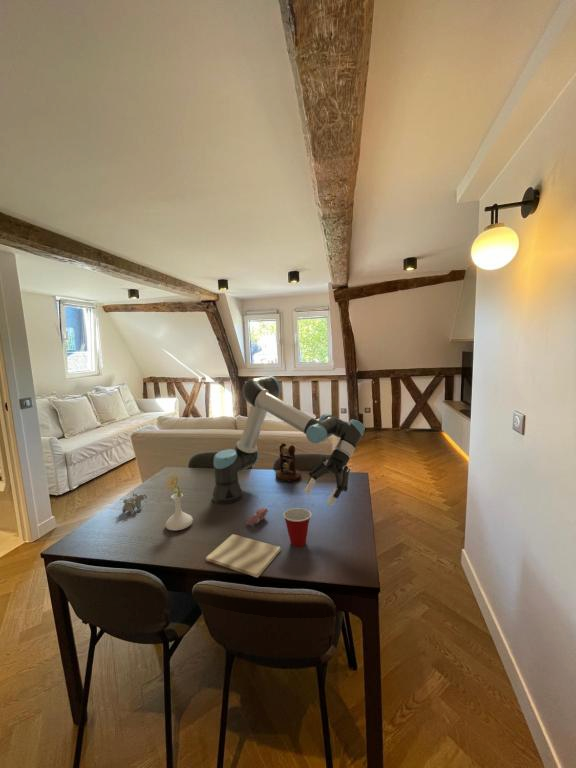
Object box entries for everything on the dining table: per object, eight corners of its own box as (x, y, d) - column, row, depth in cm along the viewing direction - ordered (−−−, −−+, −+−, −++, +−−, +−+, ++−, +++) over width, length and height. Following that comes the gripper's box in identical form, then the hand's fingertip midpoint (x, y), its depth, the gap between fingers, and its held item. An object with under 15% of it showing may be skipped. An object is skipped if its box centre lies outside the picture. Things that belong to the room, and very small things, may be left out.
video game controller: (252, 531, 139) (257, 518, 137) (245, 524, 141) (249, 511, 139) (266, 520, 148) (271, 508, 145) (258, 513, 150) (263, 502, 147)
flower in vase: (165, 523, 146) (160, 468, 143) (191, 516, 150) (187, 464, 148) (166, 538, 134) (161, 479, 131) (195, 531, 139) (190, 473, 136)
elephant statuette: (119, 516, 155) (117, 501, 153) (134, 502, 166) (132, 488, 165) (137, 517, 153) (135, 502, 152) (151, 503, 165) (149, 489, 164)
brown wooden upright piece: (306, 476, 190) (305, 443, 188) (289, 485, 179) (288, 450, 177) (287, 471, 200) (285, 439, 198) (270, 479, 189) (268, 445, 187)
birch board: (206, 560, 119) (205, 557, 119) (232, 536, 133) (232, 534, 133) (257, 577, 109) (257, 574, 109) (280, 550, 123) (280, 547, 123)
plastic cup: (315, 536, 131) (314, 508, 129) (308, 553, 120) (307, 522, 119) (289, 532, 134) (288, 504, 133) (280, 548, 124) (279, 518, 122)
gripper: (370, 465, 131) (345, 514, 124) (326, 451, 151) (302, 492, 143) (361, 455, 127) (335, 505, 120) (317, 442, 147) (292, 484, 140)
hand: (317, 498), depth 132 cm, fingers open, 13 cm apart
